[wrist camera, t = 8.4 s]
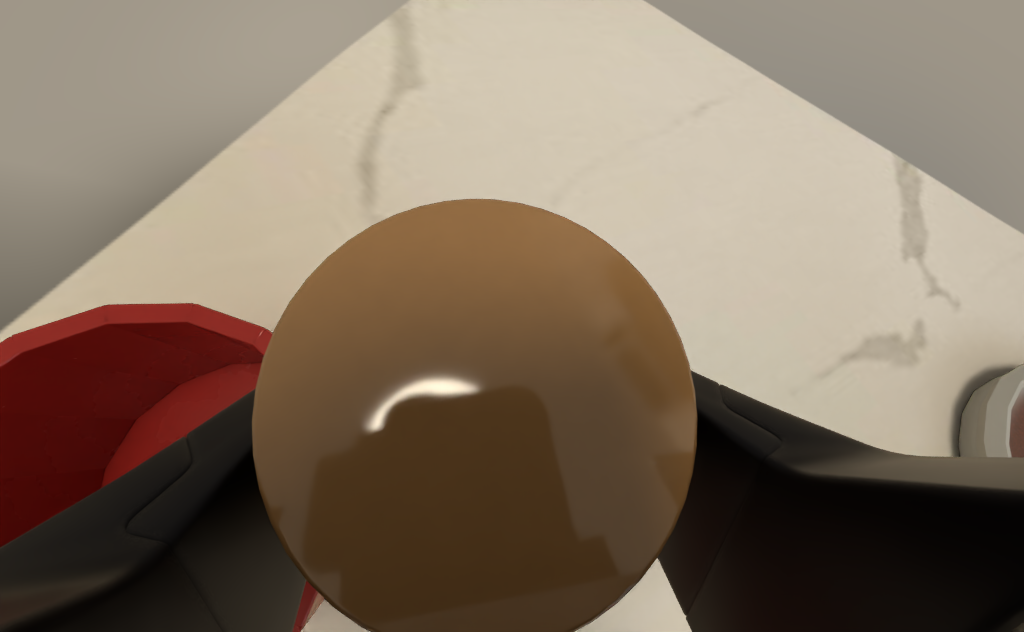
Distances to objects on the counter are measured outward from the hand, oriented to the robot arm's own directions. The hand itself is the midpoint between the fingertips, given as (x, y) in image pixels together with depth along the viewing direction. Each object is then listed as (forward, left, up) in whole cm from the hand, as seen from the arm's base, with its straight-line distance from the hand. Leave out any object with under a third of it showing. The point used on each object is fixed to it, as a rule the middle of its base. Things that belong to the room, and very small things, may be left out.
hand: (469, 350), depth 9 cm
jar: (-1, +1, -3) cm, 3 cm away
